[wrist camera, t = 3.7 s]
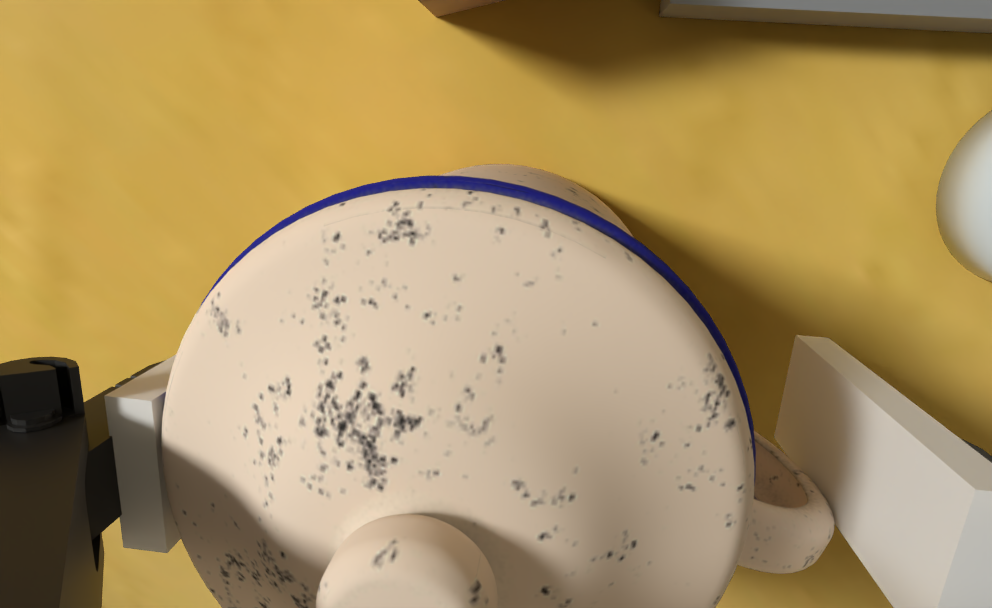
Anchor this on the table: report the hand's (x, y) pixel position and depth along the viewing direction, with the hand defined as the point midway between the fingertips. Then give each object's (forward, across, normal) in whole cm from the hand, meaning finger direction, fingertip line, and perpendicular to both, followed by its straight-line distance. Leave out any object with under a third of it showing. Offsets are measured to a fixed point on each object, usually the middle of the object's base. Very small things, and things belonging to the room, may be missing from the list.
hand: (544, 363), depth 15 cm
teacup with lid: (+3, 0, 0) cm, 3 cm away
